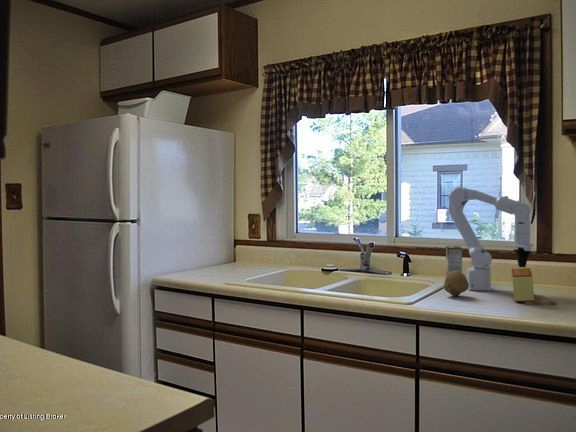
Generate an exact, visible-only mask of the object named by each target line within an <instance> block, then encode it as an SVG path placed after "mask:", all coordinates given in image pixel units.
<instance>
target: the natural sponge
mask: <svg viewBox="0 0 576 432" xmlns="http://www.w3.org/2000/svg"><path fill="white" fill-rule="evenodd" d="M468 287H469V283H468V281H467V279H466V275H465V274H464V273H463V272H462V273H461V272H460V271H452V272H450V273H448V274H447V276H446V275H445V280H444V283H443V288H444V290H445V292H446V293H448V294H450V295H451V296H452V297H458V296H460V295H461V294H463V293H464V292H466V291H467V290H469V289H468Z"/></svg>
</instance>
